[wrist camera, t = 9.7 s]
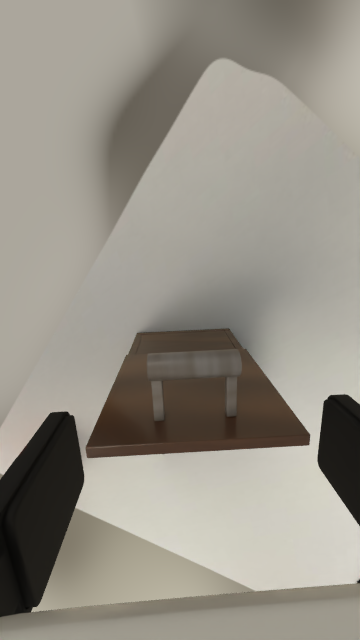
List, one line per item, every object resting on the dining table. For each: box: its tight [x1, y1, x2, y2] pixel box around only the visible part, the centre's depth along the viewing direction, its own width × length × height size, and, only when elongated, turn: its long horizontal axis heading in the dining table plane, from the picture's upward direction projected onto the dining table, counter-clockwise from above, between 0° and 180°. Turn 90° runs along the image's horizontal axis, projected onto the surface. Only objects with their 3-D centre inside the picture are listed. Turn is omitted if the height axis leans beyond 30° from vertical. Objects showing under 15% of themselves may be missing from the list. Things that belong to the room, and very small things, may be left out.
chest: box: [128, 328, 243, 355], centre depth 37 cm, size 14×14×9 cm
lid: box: [86, 349, 310, 458], centre depth 22 cm, size 15×14×6 cm
